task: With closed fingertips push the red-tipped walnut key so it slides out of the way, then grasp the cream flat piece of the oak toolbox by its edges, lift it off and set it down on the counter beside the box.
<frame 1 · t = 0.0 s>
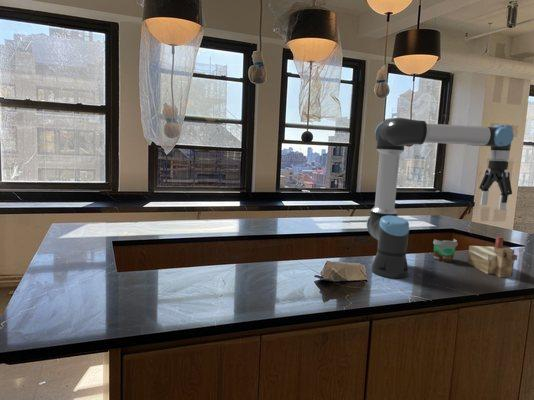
hand: (492, 207, 176), 28 cm above the counter, fingers open, 13 cm apart
cream flat piece: (490, 258, 177), point 5 cm above the counter, touching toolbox
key: (506, 247, 167), point 12 cm above the counter, slide at 0.0 cm
food container: (446, 261, 187), on the counter
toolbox: (488, 268, 178), on the counter
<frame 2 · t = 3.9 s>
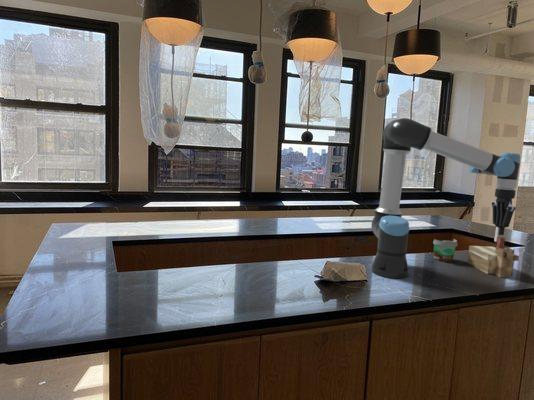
hand: (498, 241, 172), 14 cm above the counter, fingers closed
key: (507, 248, 166), point 12 cm above the counter, slide at 1.0 cm, touching gripper
everything else where it was.
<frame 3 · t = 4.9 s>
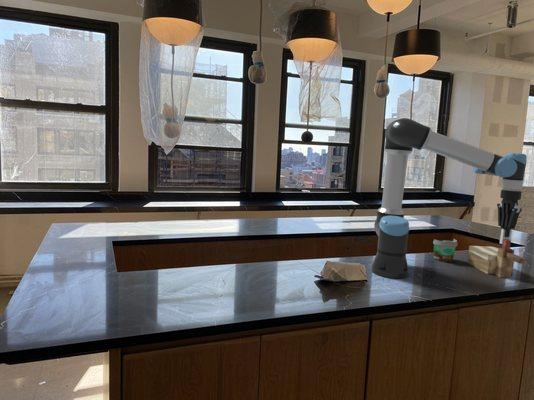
hand: (503, 243, 168), 14 cm above the counter, fingers closed
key: (513, 251, 162), point 12 cm above the counter, slide at 4.8 cm, touching gripper
everything else where it was.
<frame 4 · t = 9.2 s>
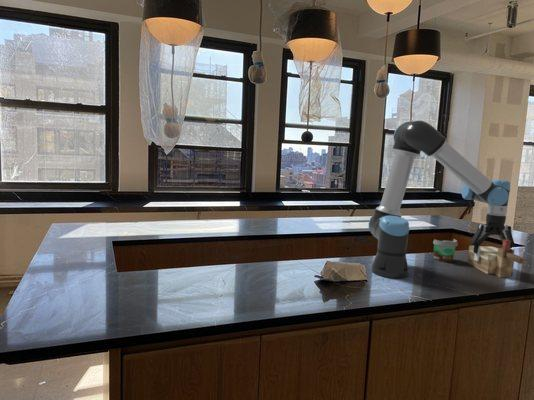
hand: (490, 260, 177), 4 cm above the counter, fingers closed on cream flat piece, 12 cm apart
cream flat piece: (490, 258, 177), point 5 cm above the counter, touching gripper, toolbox
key: (513, 251, 162), point 12 cm above the counter, slide at 4.9 cm
everything else where it was.
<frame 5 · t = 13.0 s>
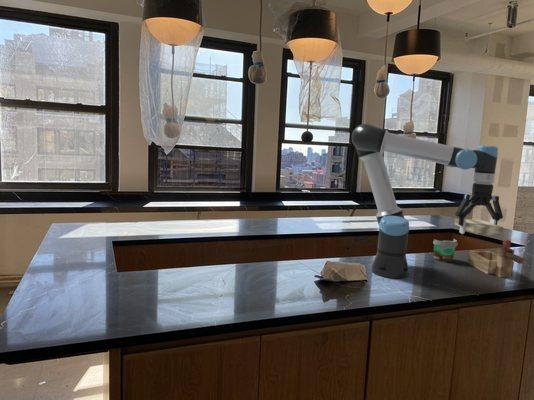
hand: (476, 233, 165), 18 cm above the counter, fingers closed on cream flat piece, 12 cm apart
cream flat piece: (476, 230, 165), point 19 cm above the counter, touching gripper
everything else where it was.
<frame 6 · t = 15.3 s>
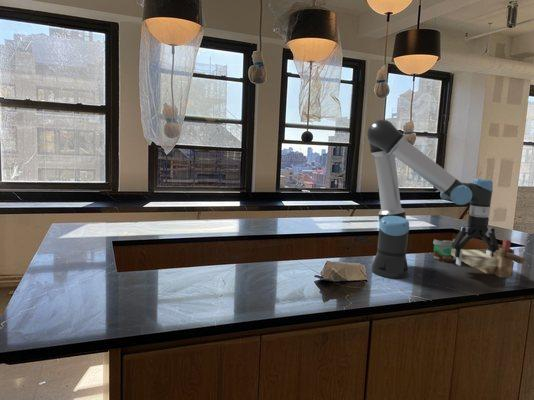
hand: (472, 265, 167), 4 cm above the counter, fingers closed on cream flat piece, 12 cm apart
cream flat piece: (473, 262, 166), point 6 cm above the counter, touching gripper
everything else where it was.
when the fingers open (0 cm above the counter, at t = 16.9 s): cream flat piece drops 2 cm, on the counter.
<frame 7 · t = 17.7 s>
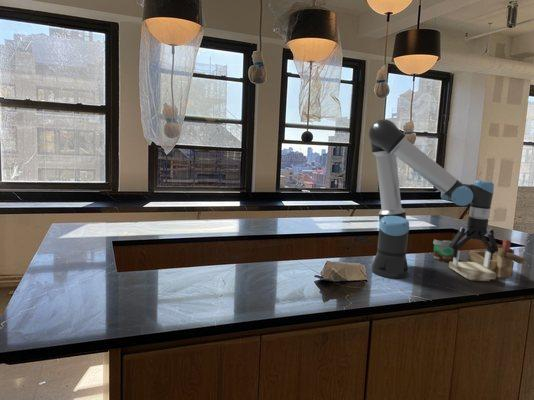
hand: (470, 265, 167), 4 cm above the counter, fingers open, 13 cm apart
cream flat piece: (470, 274, 167), on the counter
everything else where it was.
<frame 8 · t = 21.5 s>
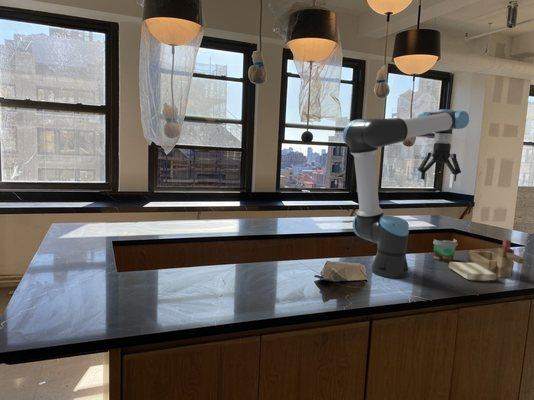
hand: (437, 187, 189), 35 cm above the counter, fingers open, 13 cm apart
nothing on the counter moved.
at the end: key slide at 4.9 cm; cream flat piece inside the target area (0.1 cm from its centre), on the counter; cream flat piece tilted 0° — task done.
